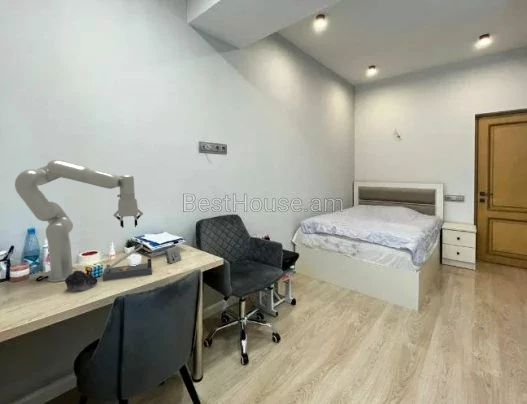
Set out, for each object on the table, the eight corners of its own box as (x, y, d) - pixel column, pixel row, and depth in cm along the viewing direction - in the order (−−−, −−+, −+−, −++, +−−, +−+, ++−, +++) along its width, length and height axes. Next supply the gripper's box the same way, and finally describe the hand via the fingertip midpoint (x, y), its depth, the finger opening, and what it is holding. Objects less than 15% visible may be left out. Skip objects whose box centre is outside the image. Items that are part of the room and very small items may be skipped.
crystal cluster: (95, 280, 146) (91, 262, 145) (100, 286, 136) (97, 267, 135) (65, 289, 137) (61, 271, 136) (68, 296, 127) (64, 276, 126)
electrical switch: (170, 264, 169) (169, 249, 168) (164, 263, 172) (163, 249, 171) (181, 260, 177) (180, 246, 177) (176, 259, 180) (174, 245, 179)
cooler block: (103, 281, 143) (102, 268, 142) (105, 275, 151) (104, 263, 150) (151, 274, 152) (151, 262, 151) (151, 269, 160) (151, 257, 160)
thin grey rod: (107, 271, 146) (104, 268, 145) (107, 269, 148) (105, 266, 148) (143, 246, 152) (140, 244, 151) (143, 245, 154) (141, 242, 154)
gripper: (109, 197, 149) (111, 229, 151) (143, 196, 156) (145, 227, 158) (111, 196, 156) (113, 227, 158) (143, 195, 163) (145, 224, 165)
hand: (129, 226), depth 158 cm, fingers open, 6 cm apart
